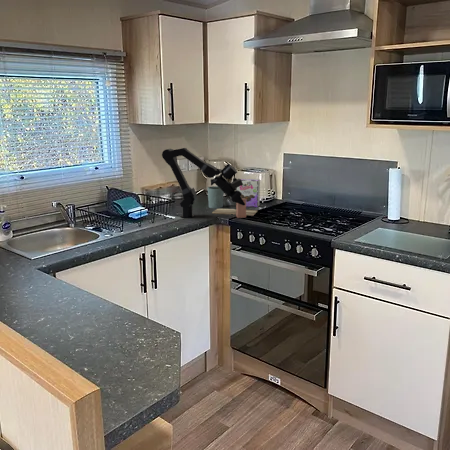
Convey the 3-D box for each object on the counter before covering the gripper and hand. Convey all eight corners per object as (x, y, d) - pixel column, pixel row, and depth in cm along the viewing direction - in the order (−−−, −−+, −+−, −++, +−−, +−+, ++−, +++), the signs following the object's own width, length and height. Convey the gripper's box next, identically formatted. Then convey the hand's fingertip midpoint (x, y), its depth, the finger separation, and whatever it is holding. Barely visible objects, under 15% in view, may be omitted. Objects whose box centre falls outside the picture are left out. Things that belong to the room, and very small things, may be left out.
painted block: (246, 217, 261) (246, 199, 259) (238, 217, 260) (238, 199, 258) (244, 215, 265) (244, 198, 263) (236, 216, 264) (236, 198, 262)
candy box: (235, 206, 292) (235, 179, 288) (238, 204, 298) (238, 178, 294) (257, 207, 288) (257, 180, 285) (259, 205, 294) (260, 179, 290)
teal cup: (207, 205, 295) (207, 186, 292) (224, 205, 295) (223, 186, 292) (207, 208, 285) (207, 189, 282) (224, 208, 285) (224, 188, 283)
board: (253, 215, 265) (253, 214, 265) (212, 213, 271) (212, 212, 271) (257, 211, 277) (257, 210, 277) (217, 209, 283) (217, 208, 283)
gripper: (237, 176, 248) (258, 196, 252) (230, 171, 265) (249, 190, 270) (223, 191, 248) (243, 211, 253) (216, 186, 266) (236, 204, 270)
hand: (243, 204), depth 261 cm, fingers closed on painted block, 4 cm apart
